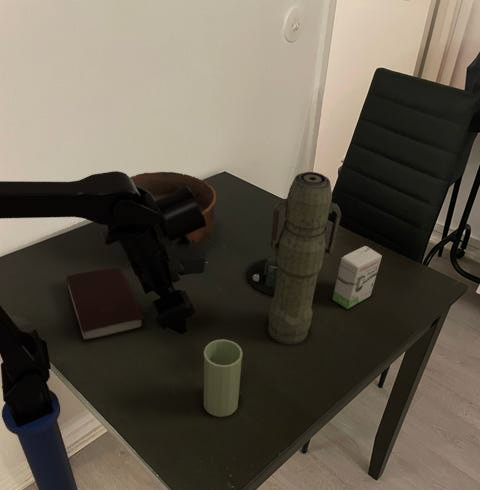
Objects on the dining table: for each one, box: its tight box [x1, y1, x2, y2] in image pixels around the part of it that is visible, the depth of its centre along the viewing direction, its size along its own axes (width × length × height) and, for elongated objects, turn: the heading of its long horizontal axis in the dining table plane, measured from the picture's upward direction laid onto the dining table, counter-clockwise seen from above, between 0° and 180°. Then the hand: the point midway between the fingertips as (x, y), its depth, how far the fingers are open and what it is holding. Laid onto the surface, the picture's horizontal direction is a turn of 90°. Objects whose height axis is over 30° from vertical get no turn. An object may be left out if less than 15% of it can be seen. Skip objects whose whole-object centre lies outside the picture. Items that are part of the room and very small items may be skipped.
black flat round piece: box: [247, 253, 278, 297], centre depth 121 cm, size 15×15×6 cm
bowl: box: [129, 171, 218, 247], centre depth 124 cm, size 25×25×15 cm
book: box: [66, 266, 144, 342], centre depth 110 cm, size 12×19×3 cm, turn 23°
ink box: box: [332, 245, 383, 310], centre depth 114 cm, size 9×5×12 cm, turn 130°
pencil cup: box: [202, 339, 244, 418], centre depth 88 cm, size 6×6×13 cm
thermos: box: [267, 171, 342, 345], centre depth 97 cm, size 9×12×35 cm
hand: (176, 315), depth 90 cm, fingers open, 9 cm apart
